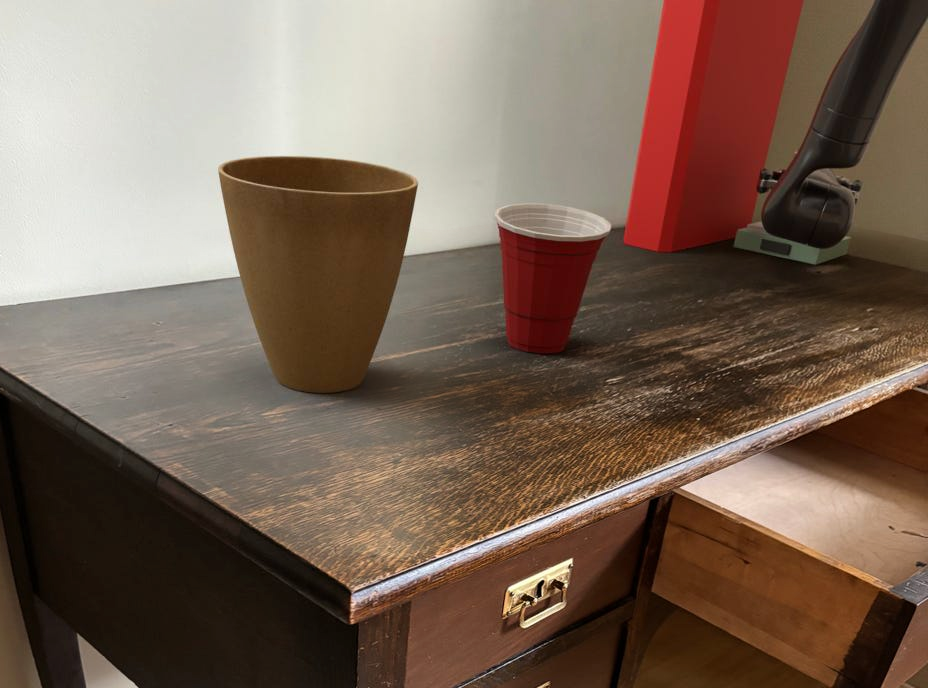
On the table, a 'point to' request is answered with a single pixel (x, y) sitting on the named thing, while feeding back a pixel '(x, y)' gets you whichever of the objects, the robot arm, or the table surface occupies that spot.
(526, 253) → the plastic cup
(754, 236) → the scale
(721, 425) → the table surface
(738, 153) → the book
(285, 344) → the plant pot
